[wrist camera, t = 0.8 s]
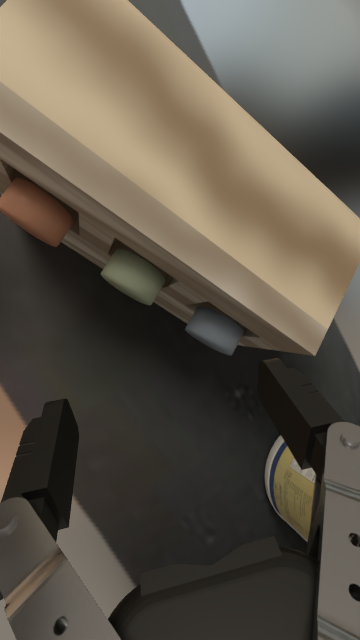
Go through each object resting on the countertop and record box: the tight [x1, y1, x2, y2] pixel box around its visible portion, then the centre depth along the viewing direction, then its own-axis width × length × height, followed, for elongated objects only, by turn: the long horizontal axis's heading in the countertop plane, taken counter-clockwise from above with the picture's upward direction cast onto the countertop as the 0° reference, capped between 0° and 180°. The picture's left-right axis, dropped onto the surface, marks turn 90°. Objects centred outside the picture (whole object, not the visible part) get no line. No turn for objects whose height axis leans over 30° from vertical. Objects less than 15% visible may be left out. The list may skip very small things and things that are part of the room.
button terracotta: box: [0, 178, 74, 247], centre depth 19 cm, size 2×4×4 cm, turn 59°
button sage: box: [101, 249, 165, 305], centre depth 21 cm, size 2×4×4 cm, turn 59°
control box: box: [0, 0, 360, 356], centre depth 24 cm, size 10×24×15 cm, turn 59°
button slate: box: [185, 306, 244, 355], centre depth 23 cm, size 2×4×4 cm, turn 59°
